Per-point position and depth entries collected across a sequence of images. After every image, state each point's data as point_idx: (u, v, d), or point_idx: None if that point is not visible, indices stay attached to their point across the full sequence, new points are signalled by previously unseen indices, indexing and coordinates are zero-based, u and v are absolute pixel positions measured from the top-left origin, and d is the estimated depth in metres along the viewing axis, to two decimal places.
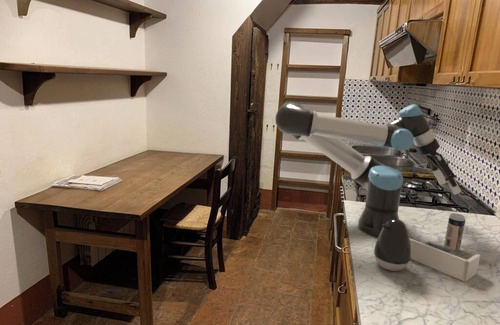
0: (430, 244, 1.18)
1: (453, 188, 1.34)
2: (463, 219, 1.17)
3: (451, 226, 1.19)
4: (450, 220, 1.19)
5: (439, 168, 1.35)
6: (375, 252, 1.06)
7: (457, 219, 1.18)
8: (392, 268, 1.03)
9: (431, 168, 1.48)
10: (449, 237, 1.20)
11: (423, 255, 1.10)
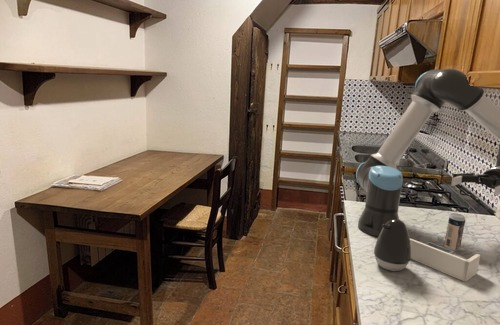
0: (430, 244, 1.18)
1: None
2: (463, 219, 1.17)
3: (451, 226, 1.19)
4: (450, 220, 1.19)
5: None
6: (375, 252, 1.06)
7: (457, 219, 1.18)
8: (392, 268, 1.03)
9: (461, 175, 1.33)
10: (449, 237, 1.20)
11: (423, 255, 1.10)
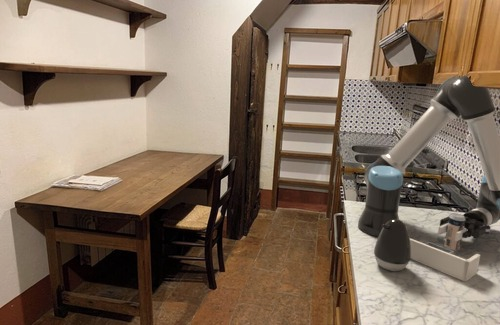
0: (430, 244, 1.18)
1: (461, 233, 1.16)
2: (463, 219, 1.17)
3: (451, 226, 1.19)
4: (450, 220, 1.19)
5: (473, 226, 1.22)
6: (375, 252, 1.06)
7: (457, 219, 1.18)
8: (392, 268, 1.03)
9: None
10: (449, 237, 1.20)
11: (423, 255, 1.10)
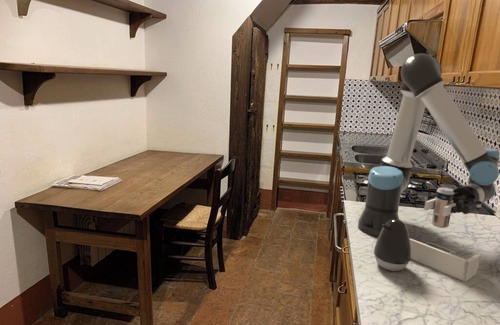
0: (430, 244, 1.18)
1: (449, 208, 1.06)
2: (452, 193, 1.07)
3: (439, 201, 1.09)
4: (438, 194, 1.09)
5: (463, 201, 1.12)
6: (375, 252, 1.06)
7: (445, 192, 1.07)
8: (392, 268, 1.03)
9: (435, 197, 1.14)
10: (437, 213, 1.10)
11: (423, 255, 1.10)
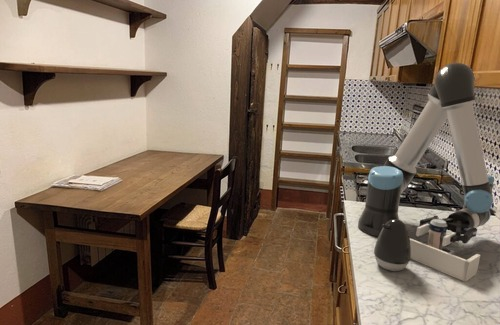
0: None
1: (449, 238, 1.07)
2: (445, 225, 1.10)
3: (432, 233, 1.11)
4: (431, 226, 1.12)
5: (460, 228, 1.13)
6: (375, 252, 1.06)
7: (438, 224, 1.10)
8: (392, 268, 1.03)
9: (428, 222, 1.17)
10: (430, 244, 1.12)
11: (423, 255, 1.10)
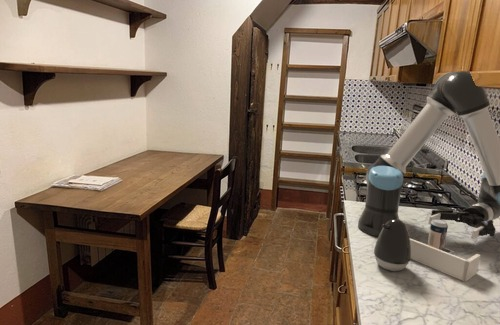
0: None
1: (477, 231, 1.13)
2: (445, 225, 1.10)
3: (433, 233, 1.11)
4: (432, 226, 1.12)
5: (481, 222, 1.20)
6: (375, 252, 1.06)
7: (439, 225, 1.10)
8: (392, 268, 1.03)
9: (440, 212, 1.27)
10: (431, 244, 1.12)
11: (423, 255, 1.10)
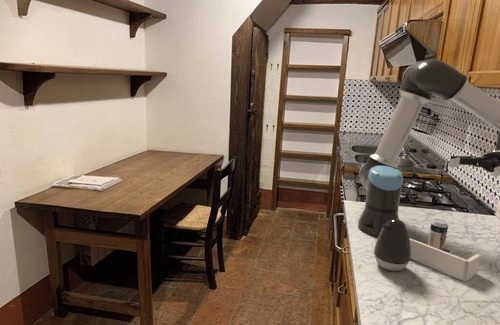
0: None
1: (499, 169, 1.14)
2: (445, 225, 1.10)
3: (433, 233, 1.11)
4: (432, 226, 1.11)
5: None
6: (375, 252, 1.06)
7: (439, 225, 1.10)
8: (392, 268, 1.03)
9: (459, 157, 1.28)
10: (431, 244, 1.12)
11: (423, 255, 1.10)
